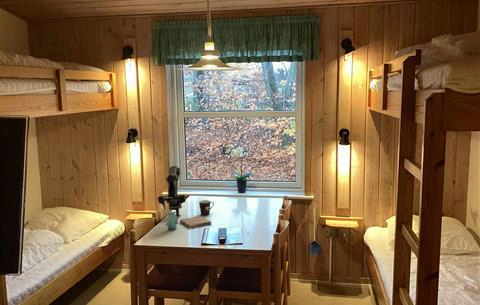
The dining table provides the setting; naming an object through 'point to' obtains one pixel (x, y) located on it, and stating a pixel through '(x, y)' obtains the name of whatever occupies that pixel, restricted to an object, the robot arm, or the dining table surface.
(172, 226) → the teal tin
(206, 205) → the coffee mug
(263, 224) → the dining table surface
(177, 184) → the robot arm
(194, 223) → the walnut board
